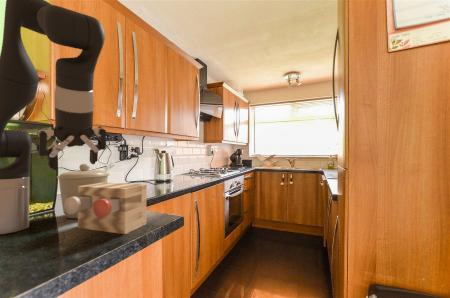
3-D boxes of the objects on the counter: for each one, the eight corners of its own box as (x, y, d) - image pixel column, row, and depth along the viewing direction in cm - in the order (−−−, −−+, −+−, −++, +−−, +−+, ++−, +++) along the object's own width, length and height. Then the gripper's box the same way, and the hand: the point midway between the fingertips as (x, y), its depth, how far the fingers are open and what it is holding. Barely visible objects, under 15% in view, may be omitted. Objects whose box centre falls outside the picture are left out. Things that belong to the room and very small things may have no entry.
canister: (84, 223, 77) (84, 165, 78) (43, 220, 81) (44, 164, 81) (118, 210, 95) (118, 162, 95) (84, 208, 99) (84, 162, 99)
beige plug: (63, 213, 67) (64, 196, 67) (89, 206, 75) (89, 192, 75) (76, 214, 65) (76, 197, 66) (100, 208, 74) (100, 192, 74)
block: (77, 227, 73) (77, 186, 73) (102, 219, 82) (102, 182, 82) (125, 234, 67) (125, 188, 67) (146, 223, 76) (146, 184, 76)
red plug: (93, 216, 63) (93, 199, 63) (116, 209, 72) (116, 193, 72) (106, 218, 62) (106, 200, 62) (128, 210, 70) (128, 194, 70)
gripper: (101, 102, 58) (98, 155, 64) (31, 99, 47) (35, 163, 53) (112, 112, 54) (108, 167, 60) (39, 110, 43) (42, 178, 49)
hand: (74, 165), depth 57 cm, fingers open, 8 cm apart
